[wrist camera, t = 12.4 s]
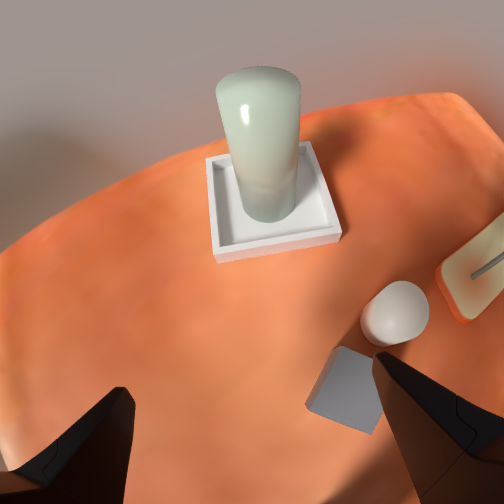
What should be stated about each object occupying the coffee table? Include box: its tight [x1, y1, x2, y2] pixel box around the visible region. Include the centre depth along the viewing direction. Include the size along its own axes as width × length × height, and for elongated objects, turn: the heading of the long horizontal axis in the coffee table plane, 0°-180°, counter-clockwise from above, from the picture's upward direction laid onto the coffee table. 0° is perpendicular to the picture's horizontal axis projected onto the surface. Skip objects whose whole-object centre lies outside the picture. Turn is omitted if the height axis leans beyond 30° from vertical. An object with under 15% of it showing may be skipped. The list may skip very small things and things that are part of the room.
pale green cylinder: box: [216, 66, 301, 223], centre depth 21 cm, size 5×5×13 cm
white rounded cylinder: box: [360, 281, 429, 347], centre depth 20 cm, size 4×4×4 cm
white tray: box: [206, 141, 342, 264], centre depth 27 cm, size 11×11×2 cm
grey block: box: [305, 346, 383, 434], centre depth 18 cm, size 5×5×4 cm
